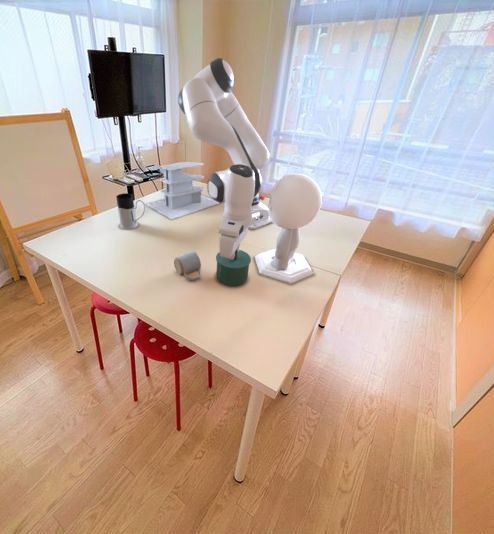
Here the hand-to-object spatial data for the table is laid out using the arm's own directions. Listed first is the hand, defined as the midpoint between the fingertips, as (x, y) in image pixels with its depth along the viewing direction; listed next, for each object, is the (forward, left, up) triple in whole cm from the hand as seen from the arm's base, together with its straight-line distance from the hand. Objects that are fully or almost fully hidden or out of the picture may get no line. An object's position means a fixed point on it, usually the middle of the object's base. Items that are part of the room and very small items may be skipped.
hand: (233, 255), depth 95 cm
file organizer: (-11, -73, -10) cm, 74 cm away
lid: (0, 0, -2) cm, 2 cm away
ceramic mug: (+13, -9, -10) cm, 19 cm away
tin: (0, 0, -10) cm, 10 cm away
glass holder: (+22, -57, -10) cm, 62 cm away
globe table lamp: (-22, +2, -10) cm, 24 cm away
